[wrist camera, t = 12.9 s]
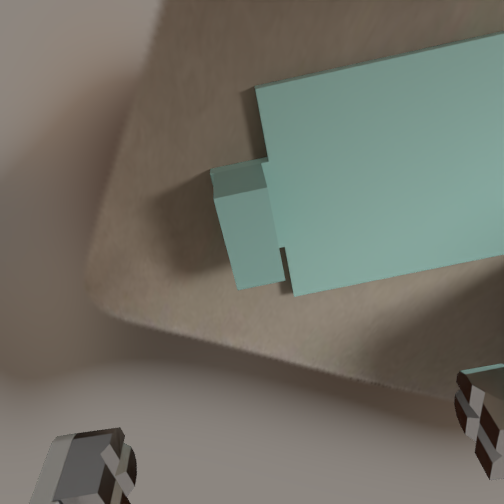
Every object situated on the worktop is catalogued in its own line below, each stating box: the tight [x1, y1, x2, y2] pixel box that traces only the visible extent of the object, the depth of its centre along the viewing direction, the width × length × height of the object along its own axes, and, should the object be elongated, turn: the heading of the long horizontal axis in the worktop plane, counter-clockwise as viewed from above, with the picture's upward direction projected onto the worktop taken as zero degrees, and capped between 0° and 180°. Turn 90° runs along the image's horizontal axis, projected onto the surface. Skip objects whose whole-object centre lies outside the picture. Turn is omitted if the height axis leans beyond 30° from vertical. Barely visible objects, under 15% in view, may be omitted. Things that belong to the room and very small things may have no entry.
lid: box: [210, 31, 504, 297], centre depth 22 cm, size 12×17×4 cm
